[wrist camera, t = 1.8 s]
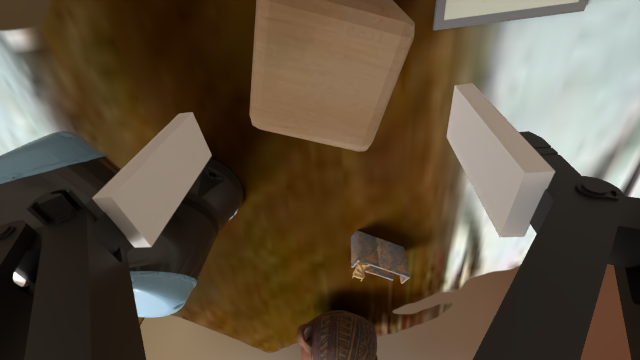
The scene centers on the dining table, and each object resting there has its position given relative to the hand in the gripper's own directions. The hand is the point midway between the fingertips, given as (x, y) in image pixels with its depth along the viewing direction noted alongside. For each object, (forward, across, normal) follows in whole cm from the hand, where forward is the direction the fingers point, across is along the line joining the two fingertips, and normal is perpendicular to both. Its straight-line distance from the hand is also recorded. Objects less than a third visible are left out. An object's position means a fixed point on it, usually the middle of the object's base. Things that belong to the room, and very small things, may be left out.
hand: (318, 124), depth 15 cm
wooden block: (+26, 0, 0) cm, 26 cm away
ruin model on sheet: (+26, +5, -42) cm, 50 cm away
